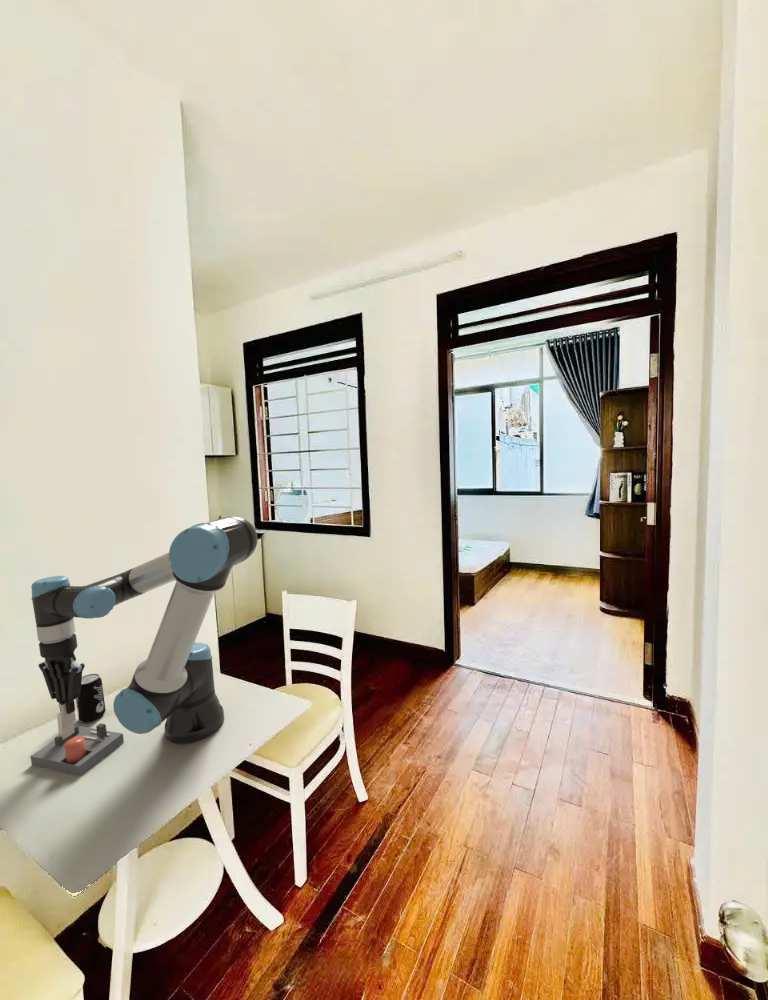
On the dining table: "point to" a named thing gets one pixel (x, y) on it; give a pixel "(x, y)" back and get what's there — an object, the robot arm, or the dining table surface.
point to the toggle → (64, 728)
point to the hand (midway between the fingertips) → (69, 723)
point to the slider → (101, 730)
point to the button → (75, 749)
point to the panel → (95, 751)
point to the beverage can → (91, 699)
